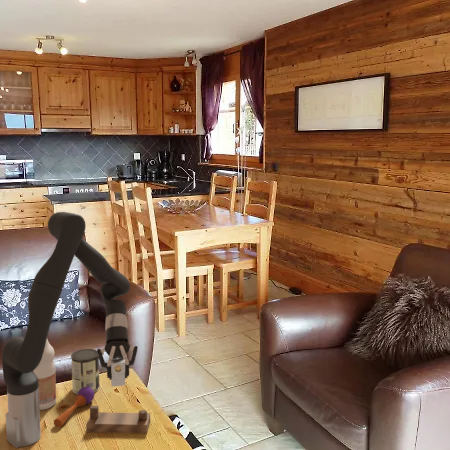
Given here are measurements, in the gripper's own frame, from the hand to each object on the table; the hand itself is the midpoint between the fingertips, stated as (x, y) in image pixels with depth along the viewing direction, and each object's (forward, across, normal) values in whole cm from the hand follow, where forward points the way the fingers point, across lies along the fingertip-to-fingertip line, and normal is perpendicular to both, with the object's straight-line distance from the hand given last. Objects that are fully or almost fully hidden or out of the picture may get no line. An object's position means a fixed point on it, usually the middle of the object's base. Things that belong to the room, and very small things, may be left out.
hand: (118, 378), depth 162 cm
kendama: (+3, -14, +24) cm, 28 cm away
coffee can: (-9, -11, +35) cm, 38 cm away
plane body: (+12, 0, +14) cm, 19 cm away
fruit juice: (-3, -26, +29) cm, 39 cm away
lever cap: (+1, 0, +3) cm, 3 cm away
